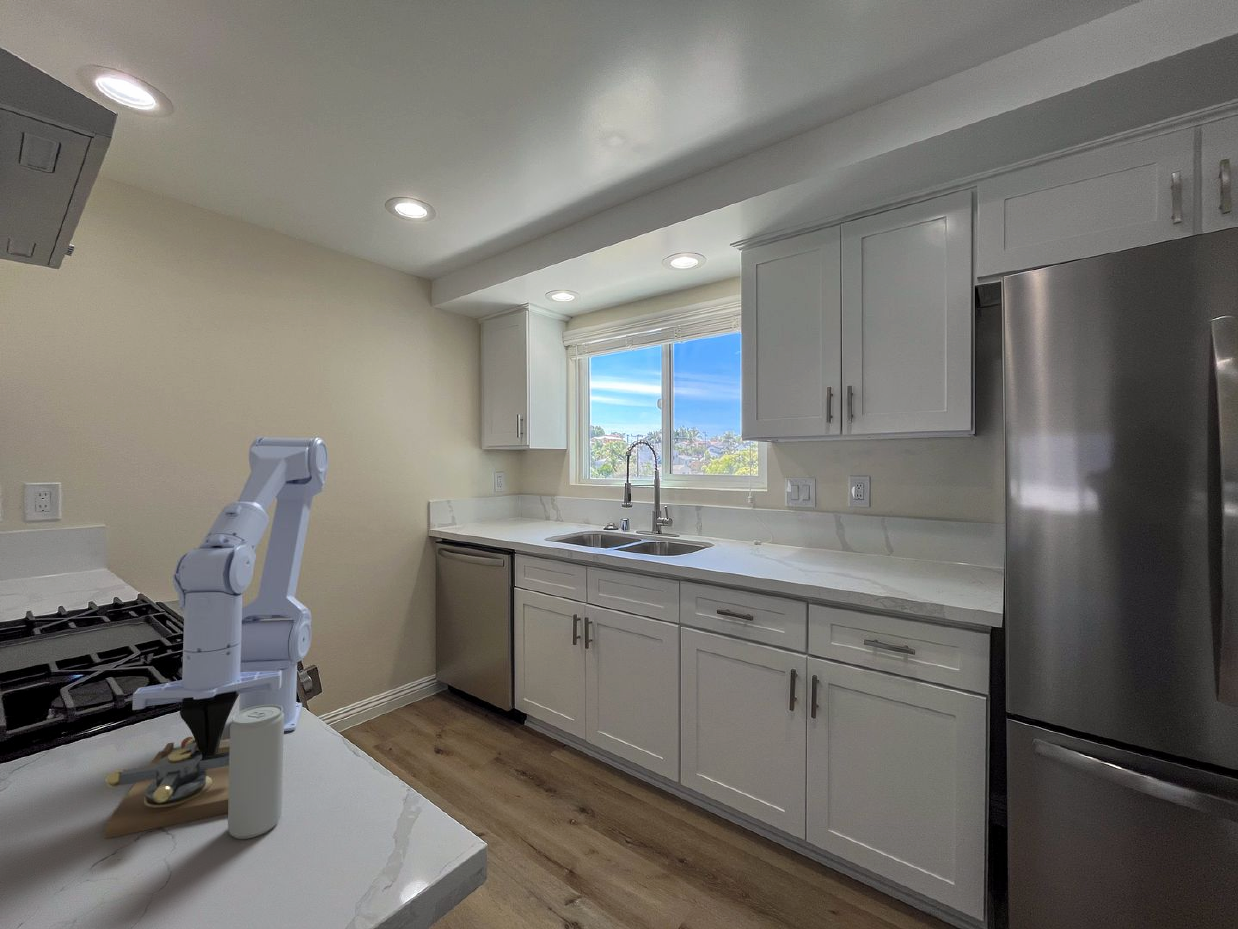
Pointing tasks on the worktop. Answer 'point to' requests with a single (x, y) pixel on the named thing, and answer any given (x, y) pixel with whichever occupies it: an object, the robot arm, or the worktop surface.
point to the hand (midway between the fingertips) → (209, 756)
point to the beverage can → (255, 770)
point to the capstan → (172, 774)
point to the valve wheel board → (146, 816)
